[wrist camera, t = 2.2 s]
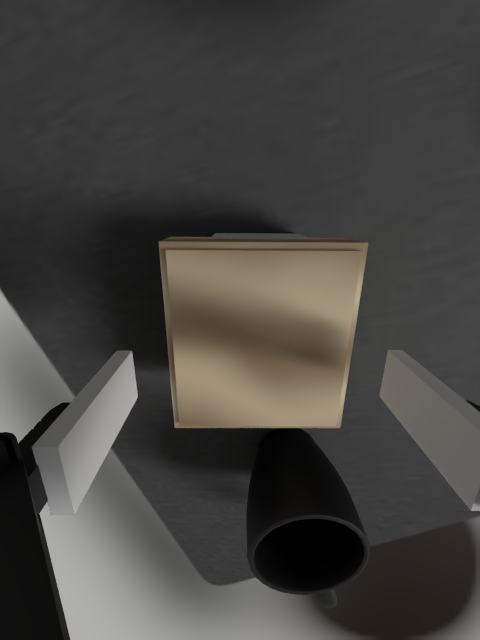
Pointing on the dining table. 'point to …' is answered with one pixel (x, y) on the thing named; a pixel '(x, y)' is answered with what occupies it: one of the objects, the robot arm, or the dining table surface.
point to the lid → (260, 329)
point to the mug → (302, 520)
